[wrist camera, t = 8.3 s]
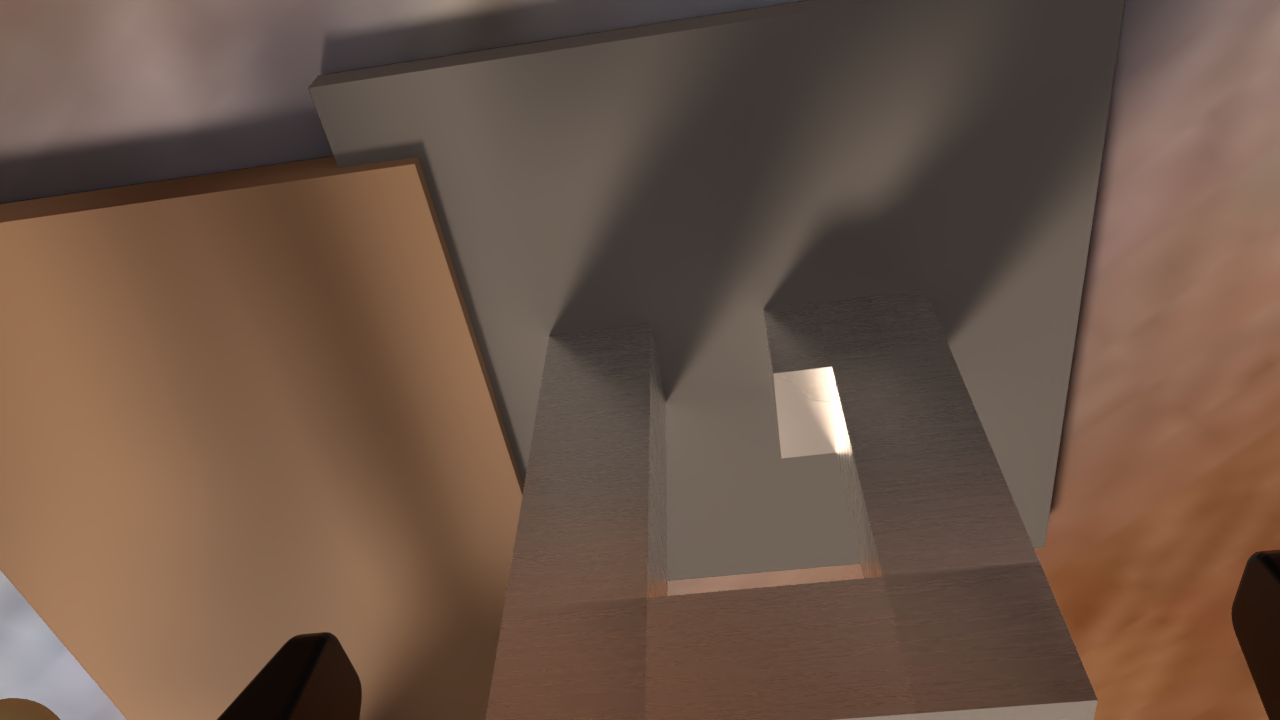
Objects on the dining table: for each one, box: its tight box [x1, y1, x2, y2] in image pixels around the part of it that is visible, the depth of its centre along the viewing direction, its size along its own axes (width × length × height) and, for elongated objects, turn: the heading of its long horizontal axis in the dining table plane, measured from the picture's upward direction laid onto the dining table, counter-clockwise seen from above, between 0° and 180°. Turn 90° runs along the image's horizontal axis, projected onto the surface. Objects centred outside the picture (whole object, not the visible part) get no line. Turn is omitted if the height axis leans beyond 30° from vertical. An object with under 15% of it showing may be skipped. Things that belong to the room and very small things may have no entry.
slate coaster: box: [308, 0, 1125, 581], centre depth 13 cm, size 9×9×1 cm
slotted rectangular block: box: [485, 289, 1098, 720], centre depth 10 cm, size 5×1×6 cm, turn 99°
